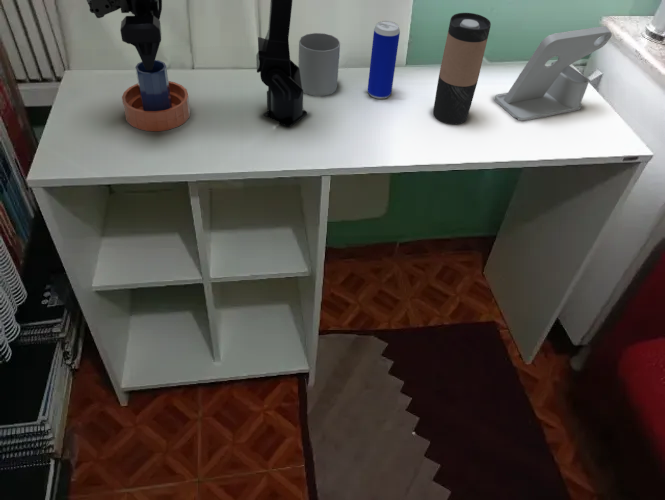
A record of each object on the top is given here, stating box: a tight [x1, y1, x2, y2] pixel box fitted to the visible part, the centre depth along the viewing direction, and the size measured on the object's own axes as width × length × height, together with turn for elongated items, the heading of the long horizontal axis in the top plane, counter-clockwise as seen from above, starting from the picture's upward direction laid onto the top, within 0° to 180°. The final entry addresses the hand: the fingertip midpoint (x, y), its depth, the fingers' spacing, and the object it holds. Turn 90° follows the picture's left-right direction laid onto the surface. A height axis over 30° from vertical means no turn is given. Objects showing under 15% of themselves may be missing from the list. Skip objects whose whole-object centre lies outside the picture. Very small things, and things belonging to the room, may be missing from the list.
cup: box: [297, 32, 341, 97], centre depth 129 cm, size 8×8×10 cm
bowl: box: [121, 80, 191, 132], centre depth 119 cm, size 12×12×4 cm
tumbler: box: [134, 59, 172, 111], centre depth 116 cm, size 5×5×10 cm
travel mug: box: [432, 12, 492, 125], centre depth 120 cm, size 8×8×20 cm
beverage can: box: [367, 20, 401, 100], centre depth 127 cm, size 5×5×15 cm
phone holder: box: [494, 25, 613, 122], centre depth 127 cm, size 17×10×18 cm, turn 113°
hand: (149, 57), depth 112 cm, fingers open, 9 cm apart
